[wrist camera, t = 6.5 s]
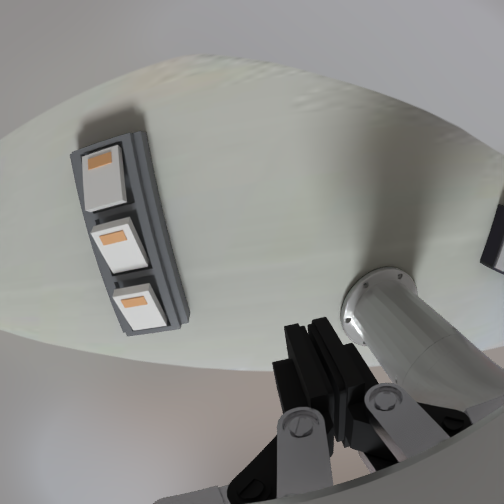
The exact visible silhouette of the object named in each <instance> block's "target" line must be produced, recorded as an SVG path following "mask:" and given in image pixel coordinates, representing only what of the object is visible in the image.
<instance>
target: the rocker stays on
mask: <svg viewBox="0 0 504 504" xmlns="http://www.w3.org/2000/svg"><path fill="white" fill-rule="evenodd" d="M82 170H83V189H84V202H85V211H88V212H93V211H96V210H100V209H104V208H107V207H111V206H114V205H118V204H122V203H126V202H127V198H126V189H125V179H124V169H123V156H122V148H121V147H120V146H119V145H116V146H113V147H109V148H106V149H103V150H100V151H97V152H94V153H91V154H89V155H86V156H83V157H82Z"/></svg>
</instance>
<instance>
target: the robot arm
mask: <svg viewBox="0 0 504 504" xmlns="http://www.w3.org/2000/svg"><path fill="white" fill-rule="evenodd" d="M341 324H342V327H343V330H344V332H345V333H346V335H347V336H348V337H349V339H350V340H351V341H353V342H354V343H356V344H358V345H361V346H368V347H369V349H370V350H371V352H372V353H373V355H374V356H375V357H376V359H377V360H378V362H379V363H380V365H381V366H382V368H383V369H384V371H385V372H386V373H387V374H388V376H389V378H390V379H391V381H392V382H393V383H381V384H379V383H378V382H377V380H376V379H375V377H374V375H373V374H372V372H371V371H370V369H369V367H368V366H367V364H366V363H365V361H364V360H363V358H362V356H361V355H360V353H359V352H358V350H357V349H356V347H355V346H354V344H353V343H349V344H346V345H343V344H342V342H341V341H340V339H339V337H338V336H337V334H336V332H335V331H334V329H333V327H332V326H331V324H330V322H329V321H328V319H327V318H326V317H323V318H318V319H314V320H312V324H309V325H308V333H307V331H306V328H305V326H299V324H298V323H297V324H293V325H288V326H284V330H285V337H286V344H287V351H288V358H289V359H285V360H281V361H276V362H272V364H273V370H274V375H275V380H276V384H277V390H278V393H279V398H280V402H281V407H282V411H283V415H282V416H281V418H280V419H279V420H278V425H277V435H276V437H275V438H274V439H273V440H272V441H271V442H270V443H269V444H268V445H267V446H266V447H265V448H264V450H262V452H260V453H259V455H257V457H256V458H255V459H254V460H253V461H252V462H251V463H250V464H249V465H248V466H247V467H246V468H245V469H244V470H243V471H242V472H240V473H239V474H238V475H237V476H236V477H235V478H234V479H233V480H232V482H231V483H230V484H229V485H226V486H222V487H218V486H214V487H210V488H206V489H202V490H198V491H194V492H190V493H185V494H181V495H176V496H171V497H166V498H162V499H159V500H157V501H156V502H155V503H153V504H504V369H503V368H502V367H500V366H499V365H497V364H496V363H495V362H493V361H492V360H491V359H490V358H489V357H487V356H486V355H485V354H484V353H483V352H482V351H480V350H479V349H478V348H477V347H476V346H475V345H474V344H472V343H471V342H470V341H469V340H468V339H467V338H466V337H465V336H463V335H462V334H461V333H460V332H459V331H458V330H457V329H456V328H454V327H453V326H452V325H451V324H450V323H449V322H448V321H446V320H445V319H444V318H443V317H442V316H441V315H440V314H438V313H437V312H436V311H435V310H434V309H432V308H431V307H430V306H429V305H428V304H427V303H425V302H424V301H423V300H422V299H421V298H419V297H418V293H417V287H416V285H415V282H414V281H413V279H412V278H411V277H410V276H409V275H408V274H407V273H406V272H404V271H402V270H401V269H398V268H395V267H385V268H379V269H377V270H374V271H372V272H370V273H368V274H366V275H365V276H364V277H362V278H361V279H360V280H359V281H358V282H357V283H356V284H355V285H354V286H353V287H352V288H351V290H350V291H349V293H348V294H347V296H346V298H345V300H344V303H343V306H342V310H341ZM334 436H335V438H336V441H337V442H339V441H342V443H343V445H344V448H346V447H349V446H350V448H352V449H355V450H358V453H359V456H360V458H361V459H362V460H363V462H364V463H365V465H366V466H367V468H368V469H369V471H370V472H371V474H368V475H365V476H363V477H360V478H357V479H354V480H351V481H347V482H344V483H341V484H337V485H334V486H333V480H332V471H331V464H330V457H331V456H332V454H333V447H334Z"/></svg>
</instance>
